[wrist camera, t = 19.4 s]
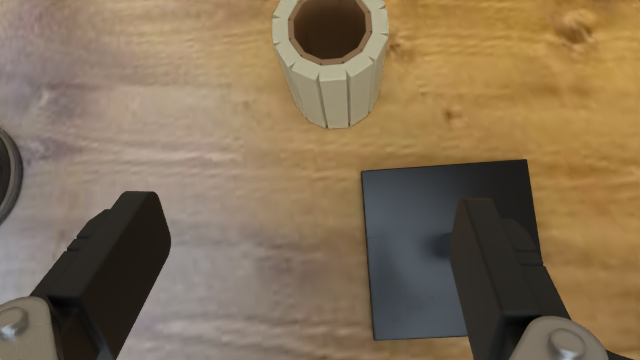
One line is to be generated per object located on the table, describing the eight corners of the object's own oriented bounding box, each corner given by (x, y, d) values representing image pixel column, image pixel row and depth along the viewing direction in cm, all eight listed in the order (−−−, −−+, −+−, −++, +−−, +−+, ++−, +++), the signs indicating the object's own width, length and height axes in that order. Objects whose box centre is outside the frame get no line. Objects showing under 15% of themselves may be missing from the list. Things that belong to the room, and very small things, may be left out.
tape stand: (373, 338, 28) (383, 376, 19) (360, 172, 30) (364, 137, 21) (547, 330, 27) (641, 365, 18) (522, 161, 29) (596, 120, 20)
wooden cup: (295, 131, 31) (273, 84, 22) (291, 51, 32) (269, -22, 23) (381, 125, 30) (393, 75, 22) (375, 44, 31) (383, -33, 23)
